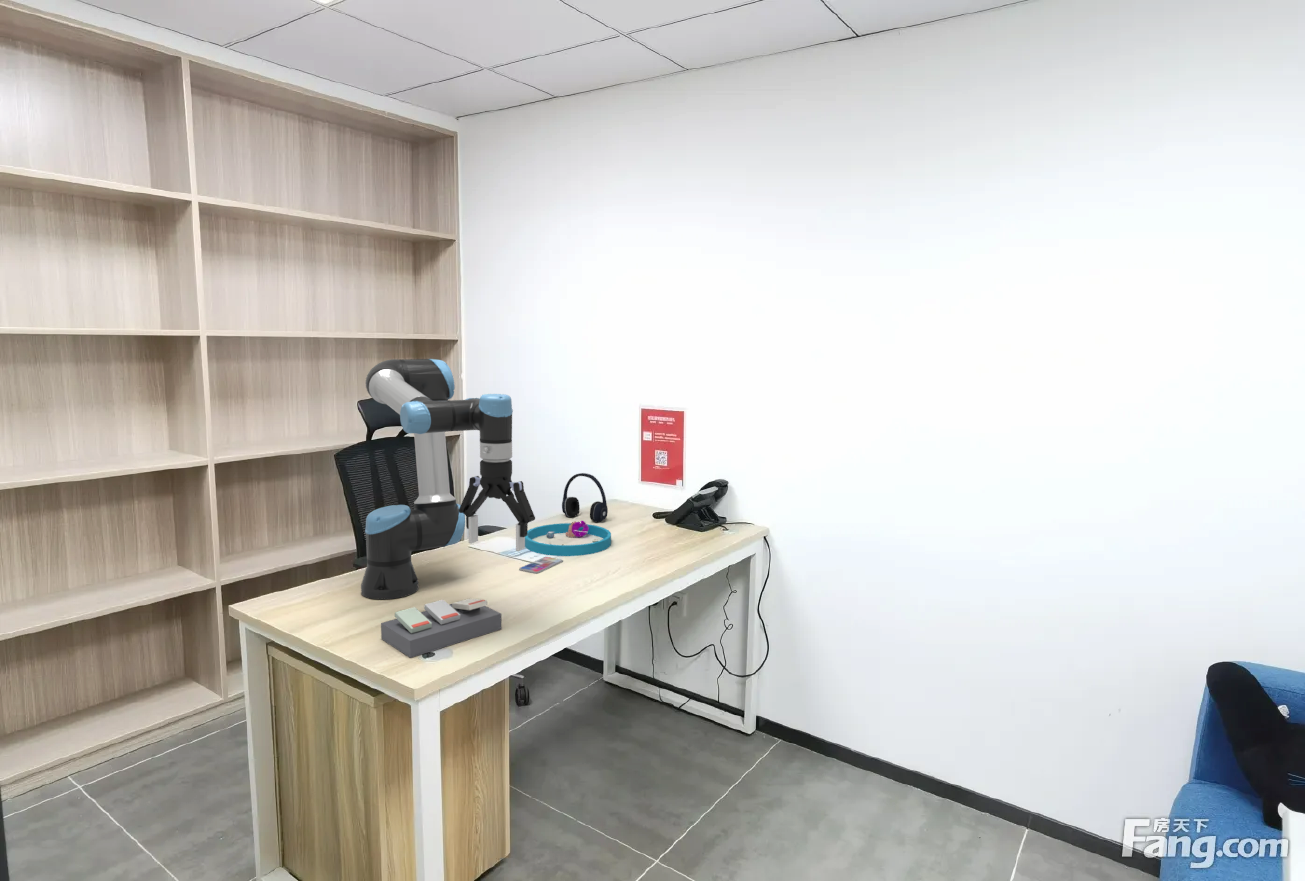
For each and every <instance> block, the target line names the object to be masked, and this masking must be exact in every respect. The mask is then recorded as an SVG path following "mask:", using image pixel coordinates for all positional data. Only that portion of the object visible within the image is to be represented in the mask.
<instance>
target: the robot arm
mask: <svg viewBox="0 0 1305 881" xmlns="http://www.w3.org/2000/svg"><path fill="white" fill-rule="evenodd" d="M367 373H368V374H367V375H366V378H365V388H366V392H367V393H368V394H369V396H370V398H372V399H373V400H374V401H375V402H377V403H379V404H383V405H387V406H388V407H390V408H391V409H392V410H393V411H395V413H397V414H398V415H399V418H400V425H401V427H402V430H403V431H404V432H405V434H413V437H414V447H415V448H414V450H415V462H416V463H415V464H416V473H417V475H416V476H417V486H418V497H417V498H416V500H414V501H413V503H414V504H413V505H414V506H413V508H414V509H411V508H410V506H408V505H405V504H398V505H395V504H393V505H388V506H382V507H379V508H377V509H374V510H373V511H371V512H369V513H368V514H367V516H366V518H365V530H364V532H365V540H366V541H365V542H366V543H365V545H366V547H365V548H366V568H365V570H364V575H363V578H362V581H361V584H360V589H361V590H360V594H361V595H362V597H364V598H368V599H371V600H394V599H399V598H404V597H406V596H410V595H412V594H414V593H416V592H417V591H418V590H419V578H418V576H417V573H416V571H415V568H414V565H413V562H412V552H416V551H422V550H428V549H435V548H445V547H448V546H452V545H456V544H458V543H459V542H460V541H461V540H462V537H463V535H464V533H465V527H466V529H467V530H468V543H469V544H474V543H477V542H478V541H479V525H478V524H479V515H477V511H478V510H479V509H480V508H481V507H482V505H483V504H484V503H485V502H486V500H487V499H488V498H489V499H493V498H494V499H496V500H501V501H503V502H505V504H506V506H507V508H508V509H509V511H510V512H511V513H512V515H513V516H514V518H515V520H517V523H516V524H515V551H516V552H520V551H523V550H525V549H526V548H525V537H526V536H527V534H528V532H527V531H528V530H529V529H528V524H529V523H532V522H534V521H535V520H536V516H535V513H534V511H533V509H532V506H531V504H530V502H529V498H528V496H527V495H526V492H525V489H524V488H525V487H524V482H523V481H522V480H521V481H520V480H519V481H516V482H515V481H514V482H513V481H512V475H513V460H512V458H513V411H514V410H513V404H512V403H513V401H512V398H511V396H510V395H508V394H504V393H502V394H501V393H484V394H482V395H480V397H475V398H474V397H469V398H465V399H453V397H454V395H455V391H454V390H455V388H456V386H455V380H454V375H453V372H452V370H451V368H450V366H449V364H448V363H446V362H445V361H444V360H442V359H435V358H414V359H412V358H411V359H410V358H409V359H405V358H404V359H399V358H397V359H396V358H394V359H393V358H392V359H386V360H384V361H381V362H378V363H377V364H376V365H374V366H373V367H372V368H371V369H370V370H369V371H368V372H367ZM452 399H453V400H452ZM464 431H465V432H466V431H479V457H480V461H479V475H480V476H479V475H475V476H471V477H470V478H469V484H468V488H467V490H466V492H465V494H464V497H463V499H462V502H461V504H460V503H457V498H456V497H455V496H453V495H452V494H451V490H450V478H449V476H450V475H449V465H448V453H447V440H446V432H448V433H449V432H464ZM480 477H481V478H480ZM480 486H481V488H482V489H481V490H480V492H479V493H478V495H477V492H478V490H479V487H480ZM476 495H477V497H476ZM475 497H476V498H475ZM474 499H475V500H474Z"/></svg>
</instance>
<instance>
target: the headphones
mask: <svg viewBox="0 0 1305 881" xmlns="http://www.w3.org/2000/svg"><path fill="white" fill-rule="evenodd" d="M577 477H585V478H588V479H590V480H592V482H594V483H595V485H596V486H597V487H598V489H599V492H600V495H601V499H602V501H599V500H598V501H595V502H593V503H592V504H591V505H590V509H589V519H590V521H592V522H594V523H600V522H602V521H605V520H606V519H607V517H608V511H609V510H608V503H607V498H606V494H605V490H604V488H603V486H602V484H601V482H600V481H599V479H598V478H596V476H594V475H593V474H590V473H586V472H581V473H576V474H574V475H572V476H571V477H570V478H569V480H568V481H567V483H566V484H565V487H564V490H563V497H562V502H561V510H562V513H563V514H564V515H565V517H568V518H573V517H577V516H578V515H579V513H580V510H581V509H580V501H579V499H578V498H577V497H575V496H568V490H569V488H570V484H571V483H572V482H573V481H574V480H575V479H576V478H577Z"/></svg>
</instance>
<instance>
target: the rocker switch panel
mask: <svg viewBox="0 0 1305 881" xmlns="http://www.w3.org/2000/svg"><path fill="white" fill-rule="evenodd" d="M448 604H449V605H450V606H451V607H452V603H448ZM452 608H453V607H452ZM453 609H455V610H456V611H457V612H458V613H459V614H460V619H459V620H455V621H452V622H449V623H445V624H442V625H441V624H440V623H439V622H438V621H437V620H436V619H435V618H433V617H432V616H431V615H430V614H429V613H428V612H427V611H426V610H423V611H420V612H421V613H422V614H423V615H424V616H425V617H426V618H427V619H428V620H429V621H430V622H431V623H432V626H431V628H428V629H425V630H421V631H418V632H414V633H410V632H409V631H408V630H407V629H406V628H405V627H404V626H403V625H402V624H401V623H400V622H399V621H398V620H397V619H396V618H394V619H390V620H386V621H384V622H381V623H380V634H381V635H380V637H381V638H380V640H382V641H383V642H385V643H387V645H390V646H392V648H394V649H396V650H398V651H399V652H400V653H403V655H405V656H406V657H408V658H411V659H412V658H414V657H418V656H421V655H424V654H427V653H430V652H434V651H436V650H441V649H444V648H447V647H449V646H453V645H455V644H459V643H462V642H465V641H468V640H472V639H474V638H477V637H478V638H479V637H481V636H483V635H487V634H490V633H493V632H496V631H500V630H502V613H501V612H499V611H497V610H495V609H493V608H491V607H488V605H486V606H483V607H479V608H476V609H472V610H464V609H456V608H453Z"/></svg>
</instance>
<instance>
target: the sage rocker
mask: <svg viewBox="0 0 1305 881" xmlns="http://www.w3.org/2000/svg"><path fill="white" fill-rule="evenodd" d="M421 612H422V611H420V610H418V608H417V607H415V606H413V607H409V608H406V609H403V610H399V611H398V610H397V611H395V612H394V617H395V618H394V619H397V620H398V621H399V622H400V623H401V624H402V625H403V626H404V627H405V628H406V629H407V630H408V631H409V632H410V633H414V632H418V631H421V630H425V629H428V628H431V626H432V623H431V622H430V621H429V620H428V619H427V618H426V617H425V616H424V615H423V614H422V613H421Z"/></svg>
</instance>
